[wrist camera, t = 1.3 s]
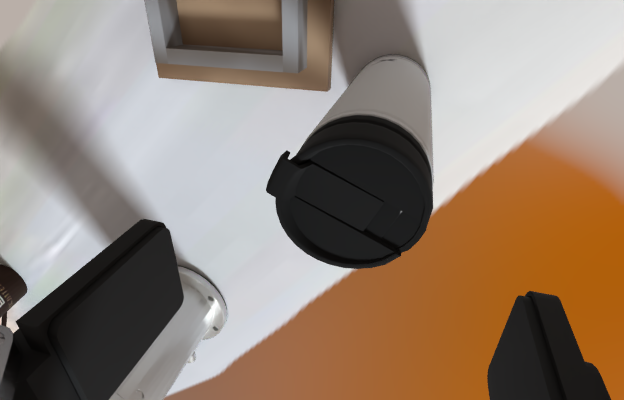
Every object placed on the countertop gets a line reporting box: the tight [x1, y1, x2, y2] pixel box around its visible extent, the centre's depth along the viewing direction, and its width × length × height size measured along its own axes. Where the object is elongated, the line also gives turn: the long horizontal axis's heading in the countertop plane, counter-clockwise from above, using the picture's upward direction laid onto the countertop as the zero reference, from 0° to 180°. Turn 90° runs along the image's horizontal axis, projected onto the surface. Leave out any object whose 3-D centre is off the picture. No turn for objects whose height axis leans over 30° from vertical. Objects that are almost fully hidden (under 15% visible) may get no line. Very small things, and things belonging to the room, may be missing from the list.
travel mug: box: [266, 55, 434, 269], centre depth 23 cm, size 6×7×20 cm
